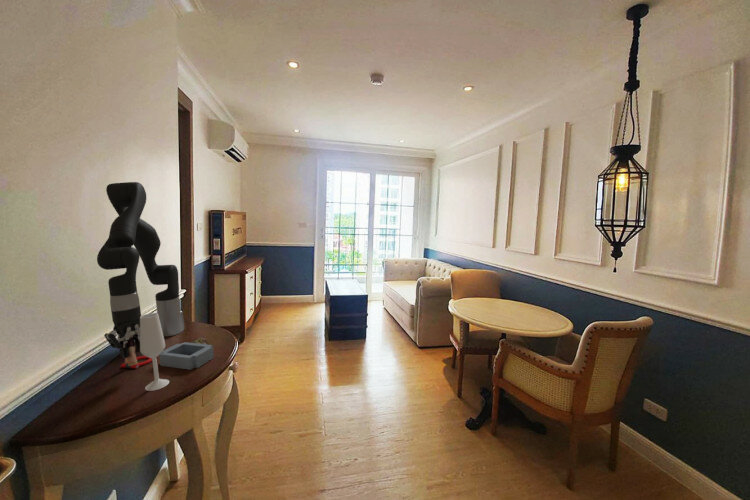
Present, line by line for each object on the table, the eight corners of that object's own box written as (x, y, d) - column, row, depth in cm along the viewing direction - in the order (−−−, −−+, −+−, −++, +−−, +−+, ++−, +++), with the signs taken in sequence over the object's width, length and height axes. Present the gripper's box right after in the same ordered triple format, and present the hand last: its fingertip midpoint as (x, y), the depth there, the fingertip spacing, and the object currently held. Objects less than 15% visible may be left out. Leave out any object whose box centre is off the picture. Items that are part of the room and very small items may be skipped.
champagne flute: (139, 390, 98) (130, 318, 95) (157, 378, 104) (149, 312, 101) (157, 391, 97) (149, 319, 94) (174, 379, 103) (166, 312, 100)
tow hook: (141, 357, 122) (118, 368, 113) (138, 326, 121) (115, 334, 112) (159, 358, 120) (137, 369, 111) (157, 327, 119) (135, 335, 110)
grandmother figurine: (123, 362, 105) (118, 327, 103) (136, 358, 108) (132, 324, 106) (128, 369, 100) (123, 333, 98) (142, 364, 103) (137, 329, 101)
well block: (182, 352, 125) (181, 341, 124) (216, 356, 120) (215, 345, 120) (157, 365, 114) (156, 353, 114) (193, 370, 110) (192, 358, 109)
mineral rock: (189, 338, 133) (207, 332, 134) (193, 347, 134) (211, 340, 135) (178, 350, 123) (199, 343, 124) (183, 359, 124) (203, 352, 125)
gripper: (138, 299, 109) (144, 344, 111) (93, 312, 96) (101, 363, 98) (154, 300, 107) (160, 346, 110) (110, 314, 94) (118, 366, 96)
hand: (132, 354), depth 104 cm, fingers closed on grandmother figurine, 3 cm apart
